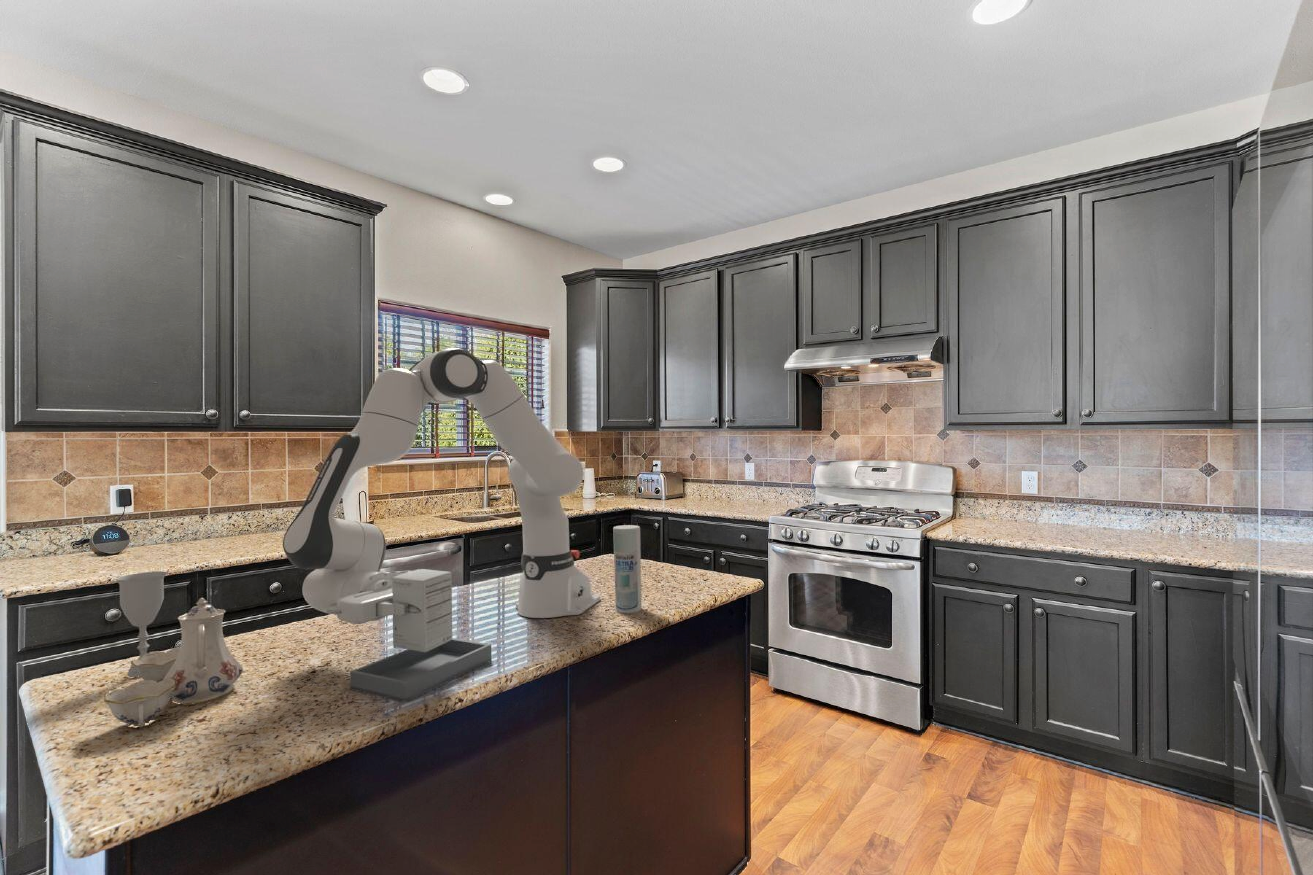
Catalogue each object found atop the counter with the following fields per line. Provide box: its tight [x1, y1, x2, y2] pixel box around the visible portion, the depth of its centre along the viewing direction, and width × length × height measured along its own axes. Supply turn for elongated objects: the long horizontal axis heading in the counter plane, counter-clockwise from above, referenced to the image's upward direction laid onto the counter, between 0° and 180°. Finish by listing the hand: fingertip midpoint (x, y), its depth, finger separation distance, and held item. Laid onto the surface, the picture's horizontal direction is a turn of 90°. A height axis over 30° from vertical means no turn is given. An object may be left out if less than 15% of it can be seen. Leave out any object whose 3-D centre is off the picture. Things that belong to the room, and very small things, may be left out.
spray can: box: [612, 524, 642, 614], centre depth 148 cm, size 6×6×20 cm
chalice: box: [115, 571, 168, 677], centre depth 113 cm, size 7×7×18 cm
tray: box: [349, 637, 493, 703], centre depth 109 cm, size 20×13×3 cm, turn 154°
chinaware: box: [103, 597, 244, 728], centre depth 101 cm, size 28×17×17 cm, turn 35°
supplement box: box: [392, 568, 453, 652], centre depth 109 cm, size 7×7×13 cm
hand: (425, 603), depth 109 cm, fingers closed on supplement box, 7 cm apart
